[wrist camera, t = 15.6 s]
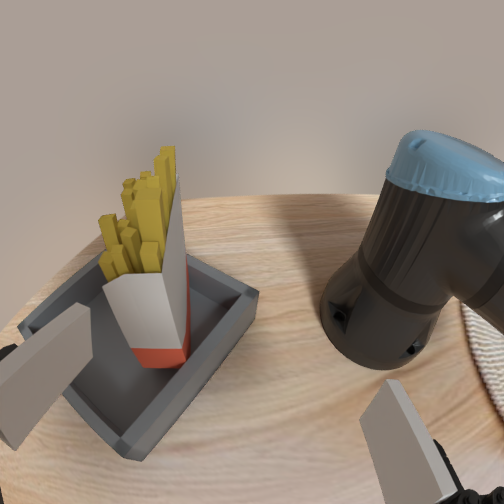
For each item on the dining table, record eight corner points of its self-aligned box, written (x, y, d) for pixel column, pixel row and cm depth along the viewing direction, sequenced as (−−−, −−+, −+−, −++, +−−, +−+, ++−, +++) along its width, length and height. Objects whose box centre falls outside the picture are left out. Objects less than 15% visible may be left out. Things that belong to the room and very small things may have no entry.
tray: (143, 254, 36) (136, 226, 33) (254, 318, 30) (259, 291, 27) (38, 349, 23) (16, 326, 20) (141, 461, 17) (123, 457, 14)
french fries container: (145, 377, 23) (64, 228, 11) (153, 290, 31) (121, 142, 18) (192, 377, 23) (153, 223, 11) (191, 289, 31) (177, 137, 19)
